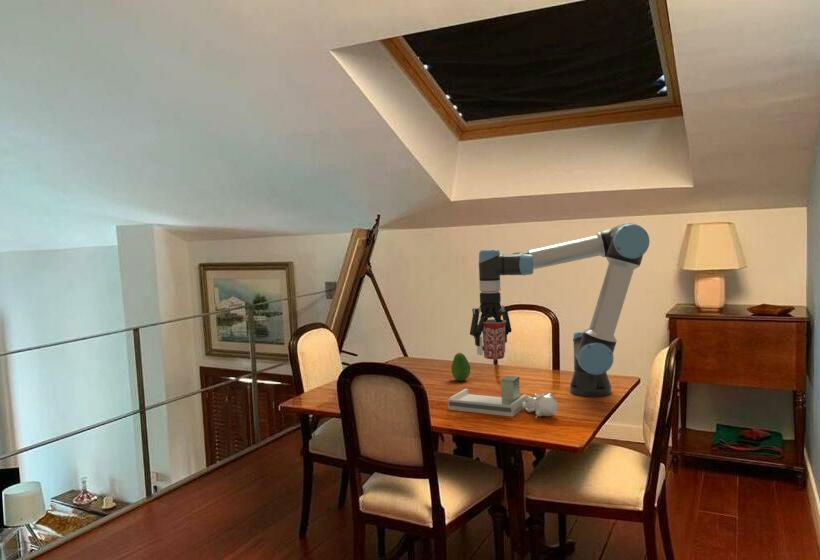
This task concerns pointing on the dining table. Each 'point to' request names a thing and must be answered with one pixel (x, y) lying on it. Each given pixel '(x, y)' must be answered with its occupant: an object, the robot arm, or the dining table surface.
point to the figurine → (541, 404)
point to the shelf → (484, 404)
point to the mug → (493, 339)
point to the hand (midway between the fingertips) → (491, 353)
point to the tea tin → (510, 389)
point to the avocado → (460, 367)
